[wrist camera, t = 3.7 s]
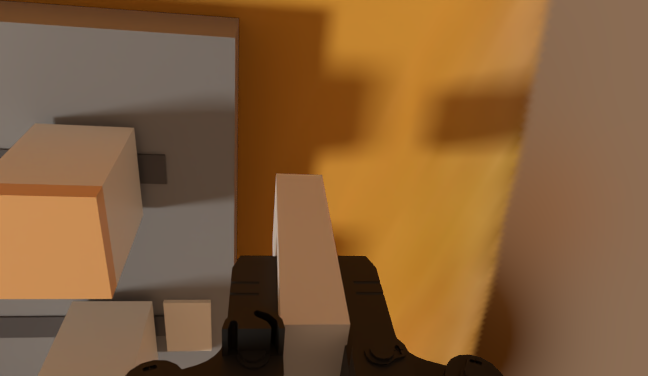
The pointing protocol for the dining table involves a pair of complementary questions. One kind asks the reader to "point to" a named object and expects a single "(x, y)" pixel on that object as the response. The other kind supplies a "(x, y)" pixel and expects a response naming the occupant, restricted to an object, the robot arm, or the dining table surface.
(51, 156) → the slider
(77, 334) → the slider mid
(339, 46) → the dining table surface
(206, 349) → the switch unit
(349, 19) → the dining table surface
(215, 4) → the dining table surface
